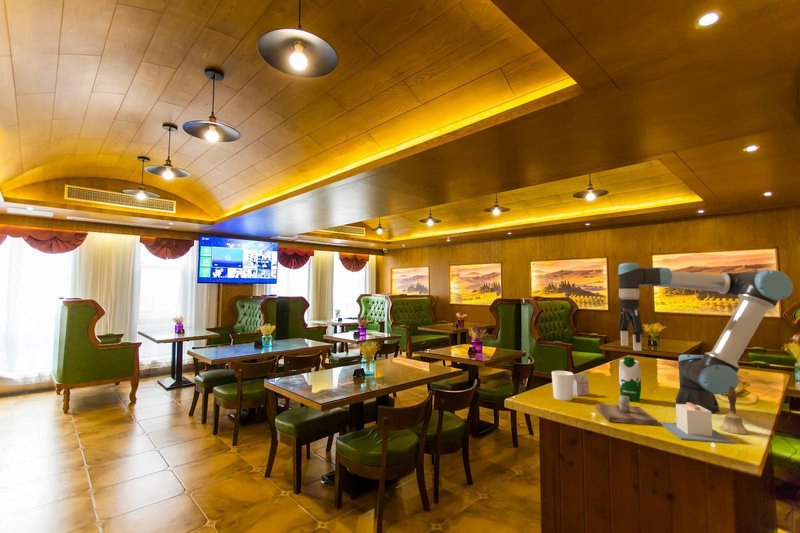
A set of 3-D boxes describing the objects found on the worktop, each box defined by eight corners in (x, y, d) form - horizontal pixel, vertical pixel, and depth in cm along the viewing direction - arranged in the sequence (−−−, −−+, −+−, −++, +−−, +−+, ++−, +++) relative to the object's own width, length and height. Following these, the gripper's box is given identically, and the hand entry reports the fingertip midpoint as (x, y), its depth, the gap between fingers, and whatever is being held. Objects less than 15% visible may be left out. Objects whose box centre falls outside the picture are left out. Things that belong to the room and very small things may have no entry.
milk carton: (619, 400, 175) (618, 357, 177) (620, 395, 183) (618, 354, 184) (641, 403, 171) (640, 359, 172) (641, 398, 178) (640, 356, 180)
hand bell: (713, 426, 142) (711, 384, 143) (733, 426, 143) (731, 383, 144) (734, 435, 134) (732, 389, 135) (756, 434, 134) (753, 389, 135)
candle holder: (576, 402, 172) (576, 375, 173) (554, 400, 174) (553, 374, 175) (571, 396, 182) (570, 371, 183) (550, 394, 184) (549, 370, 185)
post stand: (638, 411, 160) (638, 392, 160) (657, 425, 143) (656, 404, 143) (595, 408, 163) (595, 389, 163) (609, 422, 146) (608, 401, 147)
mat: (706, 426, 142) (706, 425, 142) (734, 443, 126) (734, 441, 126) (659, 423, 145) (658, 421, 145) (680, 439, 129) (680, 437, 129)
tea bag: (572, 394, 186) (571, 373, 187) (583, 393, 188) (583, 372, 188) (577, 396, 182) (576, 375, 183) (589, 395, 184) (588, 374, 185)
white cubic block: (676, 426, 140) (675, 401, 141) (699, 428, 139) (698, 402, 139) (687, 434, 133) (686, 407, 133) (712, 436, 131) (711, 408, 132)
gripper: (651, 299, 150) (653, 353, 148) (627, 298, 174) (628, 344, 173) (631, 299, 151) (633, 352, 150) (609, 298, 175) (611, 343, 174)
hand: (630, 348), depth 161 cm, fingers open, 13 cm apart
